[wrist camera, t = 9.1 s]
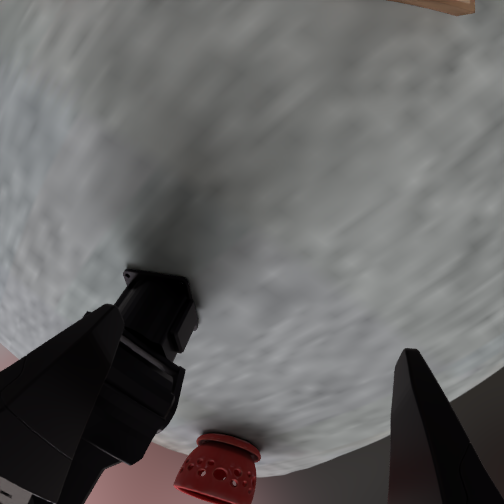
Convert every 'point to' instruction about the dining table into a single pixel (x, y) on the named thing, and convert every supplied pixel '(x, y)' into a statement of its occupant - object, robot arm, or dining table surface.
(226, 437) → the plant pot
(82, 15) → the dining table surface
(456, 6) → the plinth
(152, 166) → the dining table surface
